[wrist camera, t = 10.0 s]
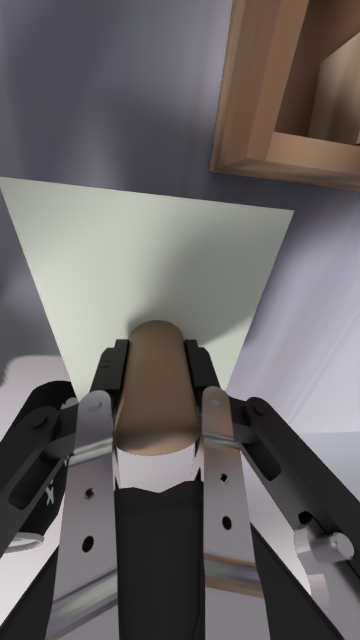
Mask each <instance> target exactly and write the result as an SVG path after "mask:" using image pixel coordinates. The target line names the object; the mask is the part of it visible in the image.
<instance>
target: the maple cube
mask: <svg viewBox="0 0 360 640" xmlns="http://www.w3.org/2000/svg"><path fill="white" fill-rule="evenodd" d="M308 138H313V139H319V140H325V141H331V142H336V143H342V144H348V145H354V146H355V145H360V32H359V33H358V34H357V35H356V36H354V37H353V38H352V39H350V40H349V41H348V42H347V43H345V44H344V45H343V46H341V47H340V48H339V49H338V50H336V51H335V52H334V53H332V54H331V55H330V56H329V57H327V58H326V59H325V60H323V61H322V62H321V63H320V69H319V75H318V81H317V87H316V93H315V98H314V104H313V110H312V116H311V122H310V128H309V134H308Z"/></svg>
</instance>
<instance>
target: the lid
mask: <svg viewBox="0 0 360 640" xmlns="http://www.w3.org/2000/svg"><path fill="white" fill-rule="evenodd" d="M0 189H1V192H2V194H3V197H4V200H5V203H6V205H7V208H8V211H9V214H10V216H11V219H12V222H13V225H14V227H15V230H16V233H17V236H18V238H19V241H20V244H21V246H22V249H23V252H24V255H25V257H26V260H27V263H28V266H29V268H30V271H31V274H32V277H33V279H34V282H35V285H36V288H37V290H38V293H39V296H40V298H41V301H42V304H43V307H44V309H45V312H46V315H47V318H48V320H49V323H50V326H51V329H52V331H53V334H54V337H55V340H56V342H57V345H58V348H59V350H60V353H61V356H62V359H63V361H64V364H65V367H66V370H67V372H68V375H69V378H70V380H71V383H72V386H73V389H74V392H75V394H76V397H77V400H78V403H79V402H80V401H81V400H82V398H83V397H84V396H85V395H87V394H88V393H89V391H90V388H91V385H92V382H93V379H94V376H95V372H96V369H97V366H98V363H99V360H100V357H101V354H102V353H103V352H104V350H105V349H106V348H114V346H115V342H116V339H129V347H128V353H127V359H126V365H125V371H124V377H123V383H122V389H121V395H120V401H119V406H118V412H117V418H116V424H115V430H114V436H113V437H114V444H115V445H116V446H117V447H118V448H119V449H120V450H122V451H124V452H127V453H130V454H135V455H142V456H157V455H164V454H170V453H173V452H177V451H180V450H182V449H185V448H186V447H189V446H190V445H192V444H193V443H194V442H196V441H197V439H198V438H199V437H200V422H199V417H198V412H197V407H196V402H195V396H194V391H193V386H192V381H191V376H190V371H189V365H188V360H187V355H186V350H185V345H184V341H185V339H196V340H197V343H198V347H204V348H205V349H206V350H207V351H208V352H209V354H210V357H211V361H212V363H213V366H214V369H215V372H216V375H217V378H218V381H219V384H220V387H221V389H223V390H224V391H225V390H226V387H227V385H228V382H229V379H230V377H231V374H232V372H233V369H234V366H235V364H236V361H237V359H238V356H239V353H240V351H241V348H242V346H243V343H244V340H245V338H246V335H247V333H248V330H249V327H250V325H251V322H252V320H253V317H254V314H255V312H256V309H257V307H258V304H259V301H260V299H261V296H262V294H263V291H264V288H265V286H266V283H267V281H268V278H269V276H270V273H271V270H272V268H273V265H274V263H275V260H276V257H277V255H278V252H279V250H280V247H281V244H282V242H283V239H284V237H285V234H286V231H287V229H288V226H289V224H290V221H291V218H292V216H293V213H294V211H293V210H286V209H277V208H269V207H260V206H251V205H243V204H234V203H225V202H217V201H208V200H200V199H191V198H182V197H174V196H165V195H156V194H148V193H139V192H130V191H122V190H113V189H104V188H96V187H87V186H79V185H70V184H61V183H53V182H44V181H35V180H27V179H18V178H9V177H0Z"/></svg>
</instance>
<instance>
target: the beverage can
mask: <svg viewBox="0 0 360 640" xmlns="http://www.w3.org/2000/svg"><path fill="white" fill-rule="evenodd" d="M77 403H78V400H77V397H76V394H75V392H74V389H73V386H72V383H71V382H69V381H52V382H48V383H46V384H44V385H41V386H39V387H37V388H36V389H34V390H33V391H32V392H31V394H30V396H29V397H28V399H27V401H26V402H25V404H24V405H23V407H22V409H21V410H20V412H19V413H18V415H17V417H16V418H15V420H14V422H13V423H12V425H11V426H10V428H9V430H8V431H7V433H6V435H5V436H4V438H5V437H6V436H7V435H8V434H9V433H10V432H11V431H12V430H13V429H14V427H15V426H16V425H17V424H18V423H19V422H20V421H21V420H22V419H23V418H24V417H25V416H26V415H27V414H29V413H30V412H31V411H33V410H35V409H37V408H40V407H43V406H51V407H54V408H55V409H56V410H57V411H58V410H61V409H64V408H67V407H70V406H73V405H75V404H77ZM4 438H3V439H4ZM3 439H2V440H3ZM72 455H73V453H71V454H69V455H68V457H67V458H66V460H65V461H64V463H63V464H62V466H61V467H60V469H59V470H58V472H57V473H56V475H55V476H54V478H53V479H52V481H51V483H50V484H49V486H48V487H47V489H46V490H45V492H44V493H43V495H42V496H41V498H40V499H39V501H38V502H37V504H36V505H35V507H34V508H33V510H32V511H31V513H30V514H29V516H28V517H27V519H26V520H25V522H24V523H23V525H22V526H21V528H20V530H19V531H18V533H17V534H16V536H15V537H14V539H13V540H12V542H11V543H10V545H9V546H8V548H7V549H6V551H5V552H4V553H10V552H18V551H23V550H28V549H32V548H35V547H38V546H40V545H41V544H42V543H43V541H44V537H43V536H44V534H45V532H46V531H47V529H48V528H49V526H50V525H51V524H52V522H53V521H54V519H55V518H56V516H57V515H58V512H59V509H60V505H61V502H62V498H63V496H64V492H65V489H66V481H67V472H68V464H69V460H70V457H71V456H72Z"/></svg>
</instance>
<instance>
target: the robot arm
mask: <svg viewBox="0 0 360 640" xmlns="http://www.w3.org/2000/svg"><path fill="white" fill-rule="evenodd" d="M184 345H185V350H186V355H187V360H188V365H189V371H190V376H191V381H192V386H193V391H194V396H195V402H196V407H197V412H198V417H199V422H200V437H199V438H198V439H197V441H196V442H194V451H193V464H192V472H191V481H186V482H182V483H180V484H178V485H176V486H174V487H172V488H170V489H168V490H166V491H163V492H161V493H156V492H151V491H147V490H143V489H139V488H134V487H132V488H122V489H121V484H120V474H119V464H118V449H117V446H116V445H115V444H114V437H113V436H114V430H115V424H116V418H117V412H118V406H119V401H120V395H121V389H122V383H123V377H124V371H125V365H126V359H127V353H128V347H129V339H116V342H115V346H114V348H106V349H105V350H104V352H103V353H102V354H101V357H100V360H99V363H98V366H97V369H96V372H95V376H94V379H93V382H92V385H91V388H90V391H89V393H88V394H87V395H85V396H84V397H83V398H82V400H81V401H80V402H79V403H77V404H75V405H73V406H70V407H67V408H64V409H61V410H58V411H57V410H56V409H55V408H54V407H51V406H43V407H40V408H37V409H35V410H33V411H31V412H30V413H29V414H27V415H26V416H25V417H24V418H23V419H22V420H21V421H20V422H19V423H18V424H17V425H16V426H15V427H14V429H13V430H12V431H11V432H10V433H9V434H8V435H7V436H6V437H5V438H4V439H3V440H2V441H1V442H0V558H1V557H2V555H3V554H4V552H5V551H6V549H7V548H8V546H9V545H10V543H11V542H12V540H13V539H14V537H15V536H16V534H17V533H18V531H19V530H20V528H21V526H22V525H23V523H24V522H25V520H26V519H27V517H28V516H29V514H30V513H31V511H32V510H33V508H34V507H35V505H36V504H37V502H38V501H39V499H40V498H41V496H42V495H43V493H44V492H45V490H46V489H47V487H48V486H49V484H50V483H51V481H52V479H53V478H54V476H55V475H56V473H57V472H58V470H59V469H60V467H61V466H62V464H63V463H64V461H65V460H66V458H67V457H68V455H69V454H71V453H73V455H72V456H71V457H70V460H69V464H68V472H67V481H66V489H65V498H64V509H63V517H62V526H61V534H60V544H59V545H58V547H57V548H56V550H55V551H54V552H53V554H52V555H51V556H50V558H49V559H48V561H47V562H46V563H45V565H44V566H43V568H42V569H41V570H40V572H39V573H38V575H37V576H36V577H35V579H34V580H33V581H32V583H31V584H30V586H29V587H28V588H27V590H26V591H25V592H24V594H23V595H22V597H21V598H20V600H19V601H18V602H17V604H16V605H15V607H14V608H13V609H12V611H11V612H10V613H9V615H8V616H7V617H6V619H5V620H4V622H3V623H2V625H1V626H0V640H360V502H359V501H358V500H357V499H356V498H355V496H354V495H353V494H352V493H351V492H350V491H349V490H348V489H347V488H346V487H345V486H344V485H343V484H342V482H341V481H340V480H339V479H338V478H337V477H336V476H335V475H334V474H333V473H332V472H331V471H330V469H328V467H327V466H326V465H325V464H324V463H323V462H322V461H321V460H320V459H319V458H318V456H317V455H316V454H315V453H314V452H313V451H312V450H311V449H310V448H309V447H308V446H307V445H306V444H305V442H303V440H302V439H301V438H300V437H299V436H298V435H297V434H296V433H295V432H294V431H293V430H292V428H291V427H290V426H289V425H288V424H287V423H286V422H285V421H284V420H283V419H282V418H281V417H280V415H279V414H278V413H277V412H276V411H275V410H274V409H273V408H272V407H271V406H270V405H269V404H268V403H267V402H266V401H265V400H263V399H261V398H258V397H251V398H249V399H248V400H247V401H242V400H239V399H235V398H232V397H230V396H228V395H227V393H226V392H225V391H224V390H223V389H221V387H220V384H219V381H218V378H217V375H216V372H215V369H214V366H213V363H212V361H211V357H210V354H209V352H208V351H207V350H206V349H205V348H204V347H198V343H197V340H196V339H185V341H184ZM240 450H241V452H242V454H243V455H244V456H245V458H246V459H247V461H248V462H249V464H250V466H251V467H252V469H253V470H254V472H255V473H256V475H257V476H258V478H259V479H260V481H261V482H262V484H263V485H264V486H265V488H266V490H267V491H268V493H269V494H270V496H271V497H272V499H273V500H274V502H275V503H276V505H277V506H278V508H279V509H280V511H281V512H282V514H283V515H284V517H285V518H286V520H287V521H288V523H289V524H290V526H291V527H292V529H293V530H294V545H295V549H296V553H297V556H298V558H299V560H300V561H301V564H302V566H303V567H304V569H305V572H306V574H307V577H308V580H309V584H310V588H311V596H310V595H309V593H308V592H307V591H306V590H305V589H304V587H303V586H302V585H301V584H300V583H299V581H298V580H297V579H296V577H295V576H294V575H293V574H292V572H291V571H290V570H289V569H288V568H287V566H286V565H285V564H284V563H283V561H282V560H281V559H280V558H279V557H278V555H277V554H276V553H275V552H274V550H273V549H272V548H271V547H270V545H269V544H268V543H267V542H266V541H265V539H264V538H263V537H262V535H261V534H260V533H259V532H258V531H257V529H256V528H255V527H254V526H253V524H252V523H251V522H250V520H249V513H248V506H247V498H246V491H245V484H244V476H243V469H242V462H241V454H240Z"/></svg>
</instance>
